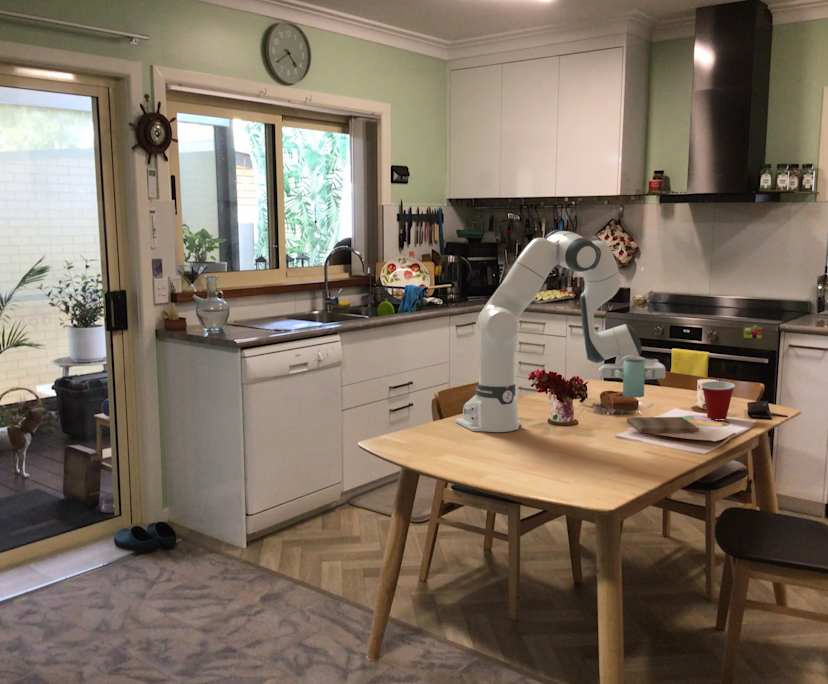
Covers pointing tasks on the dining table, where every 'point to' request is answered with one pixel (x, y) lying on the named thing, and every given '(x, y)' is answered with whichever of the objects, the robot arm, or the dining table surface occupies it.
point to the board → (662, 425)
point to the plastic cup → (717, 398)
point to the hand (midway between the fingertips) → (634, 375)
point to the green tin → (633, 378)
